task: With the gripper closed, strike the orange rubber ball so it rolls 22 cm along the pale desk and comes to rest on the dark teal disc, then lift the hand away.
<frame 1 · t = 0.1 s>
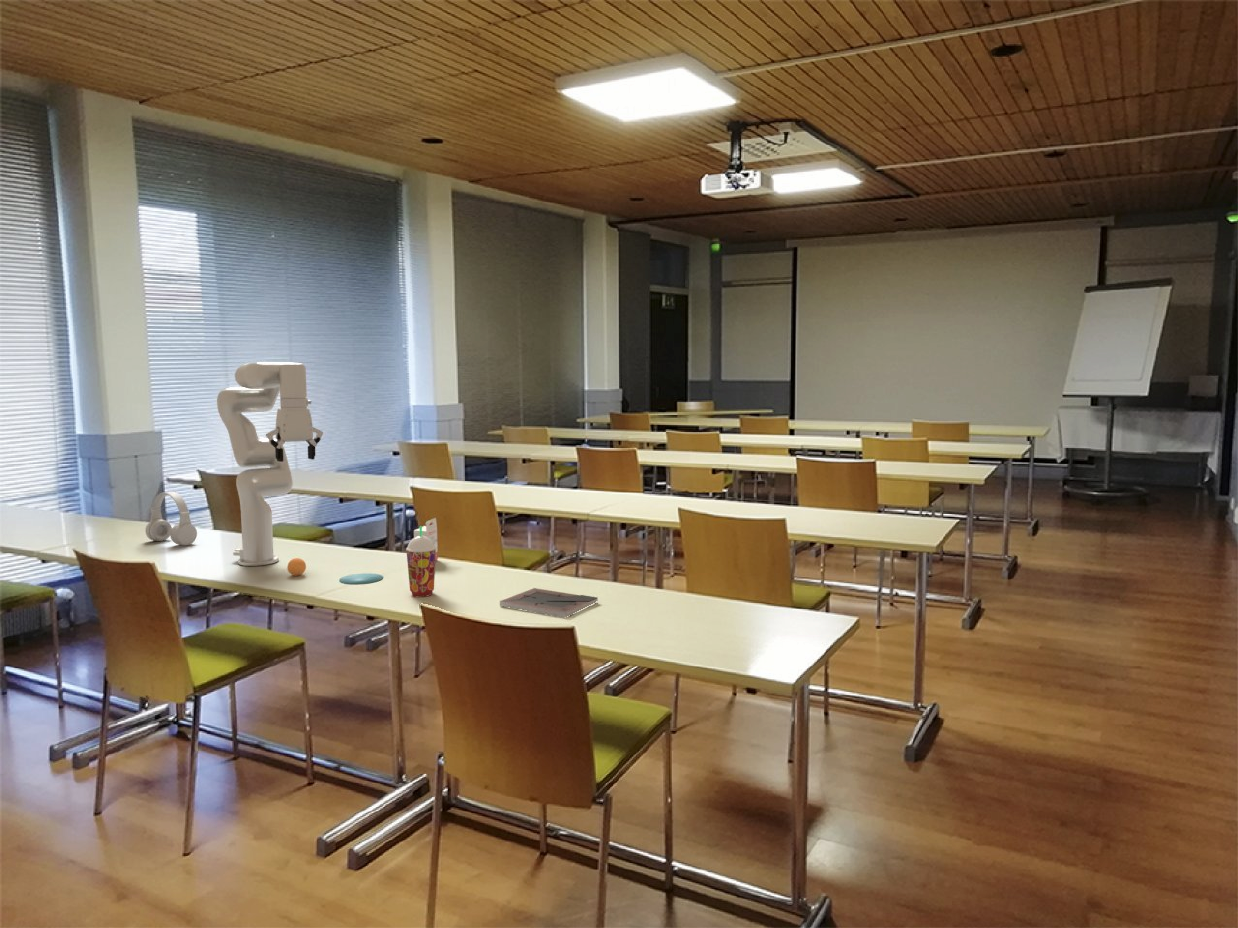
hand: (295, 460, 257), 37 cm above the table, tool pointing down, fingers open, 9 cm apart
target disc: (361, 578, 262), on the table
headphones: (171, 543, 316), on the table
ink cartridge box: (426, 562, 286), on the table
ball: (296, 566, 266), on the table
grey flat slab: (549, 608, 234), on the table
smoothie: (422, 594, 245), on the table
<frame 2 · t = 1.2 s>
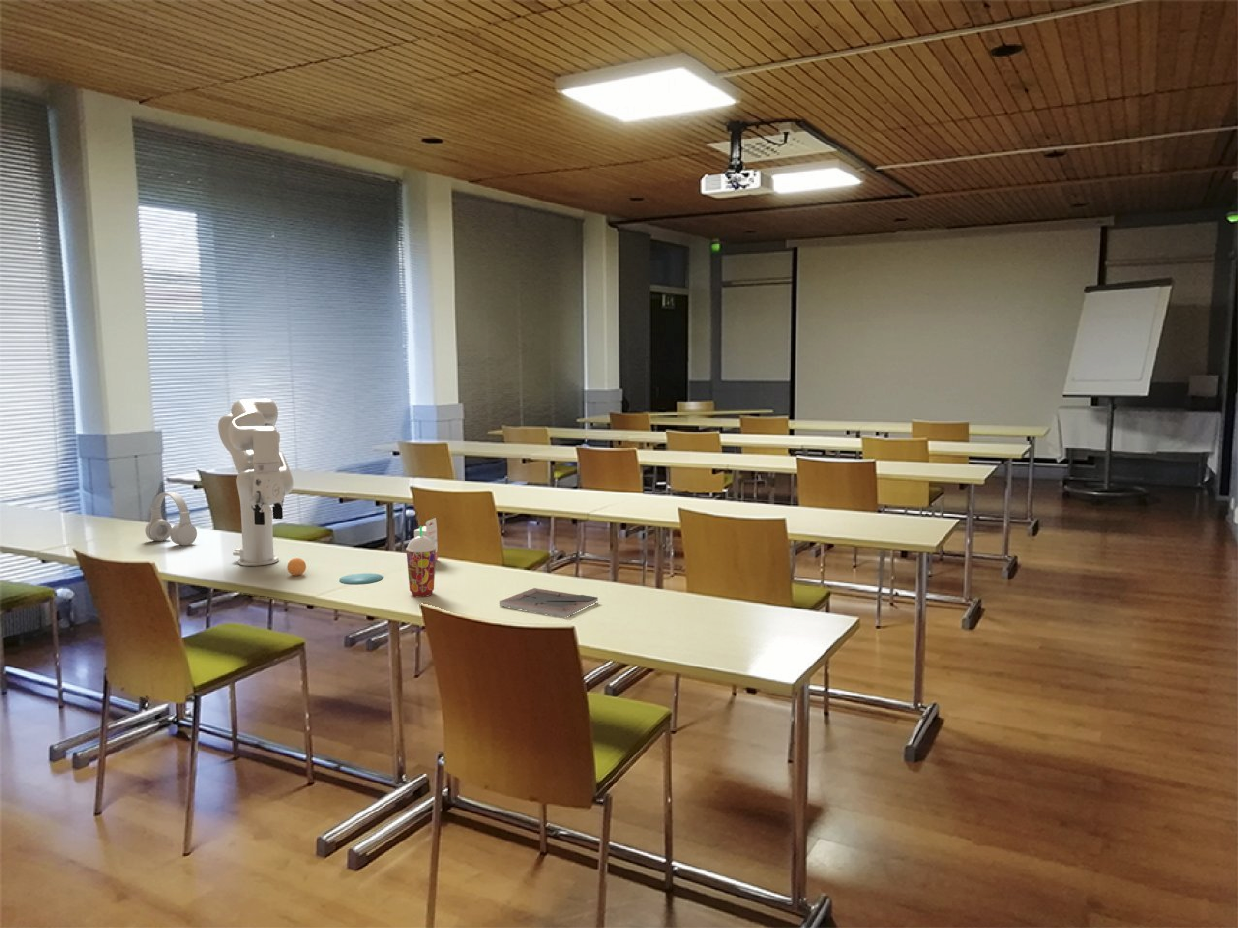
hand: (269, 521, 266), 17 cm above the table, tool pointing down, fingers open, 9 cm apart
nothing on the table moved.
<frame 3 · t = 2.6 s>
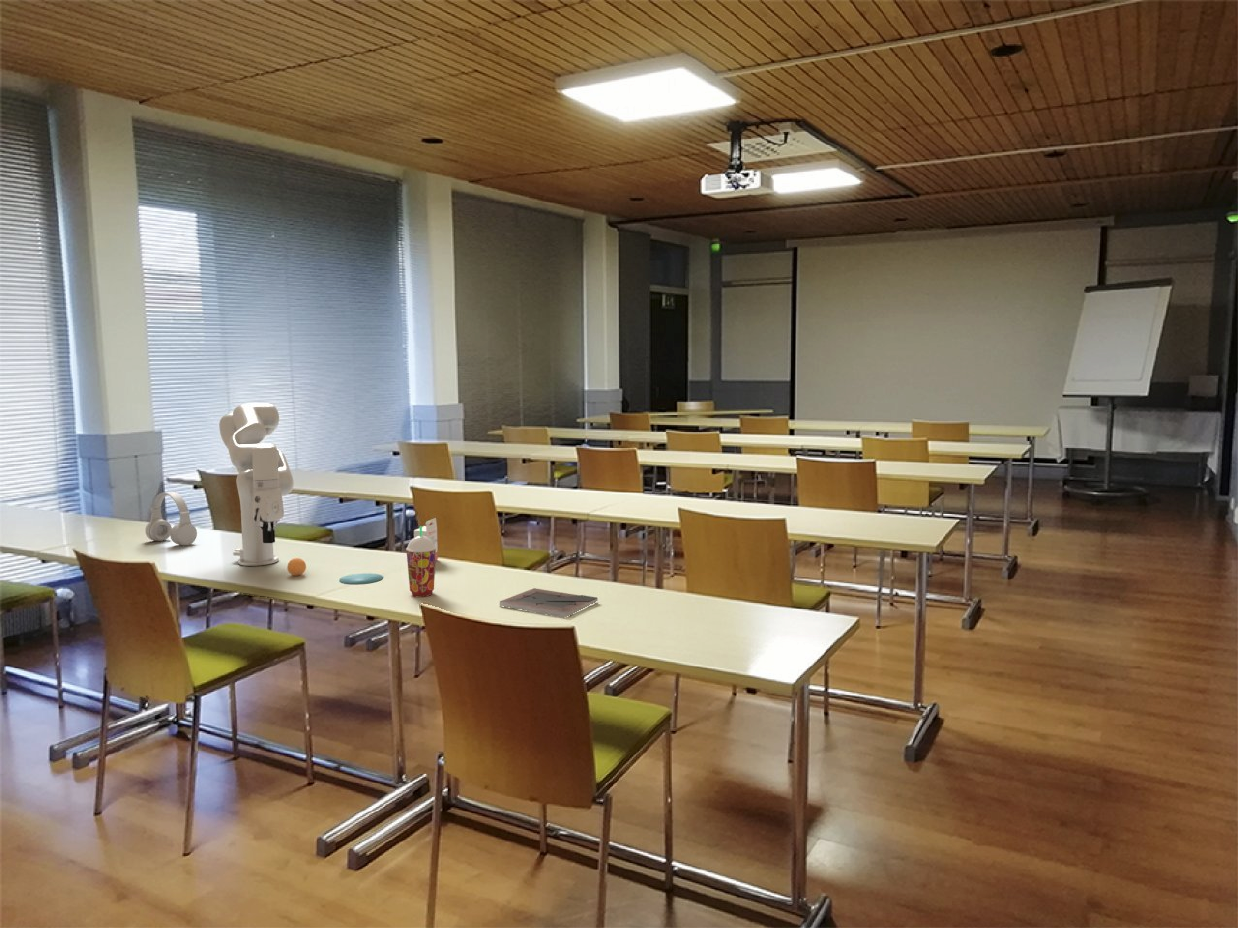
hand: (269, 542, 267), 10 cm above the table, tool pointing down, fingers closed
nothing on the table moved.
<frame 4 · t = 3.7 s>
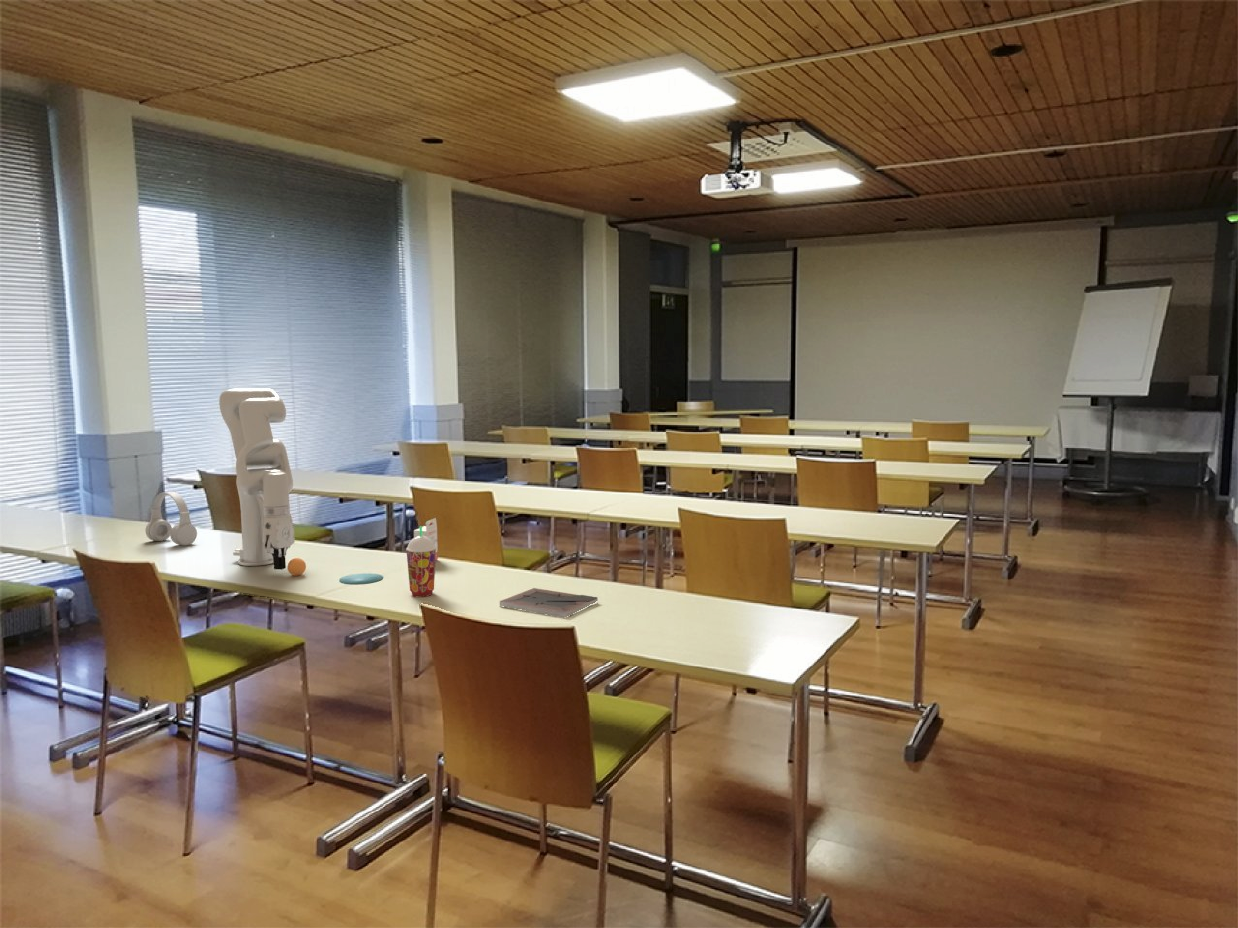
hand: (279, 568, 267), 2 cm above the table, tool pointing down, fingers closed
nothing on the table moved.
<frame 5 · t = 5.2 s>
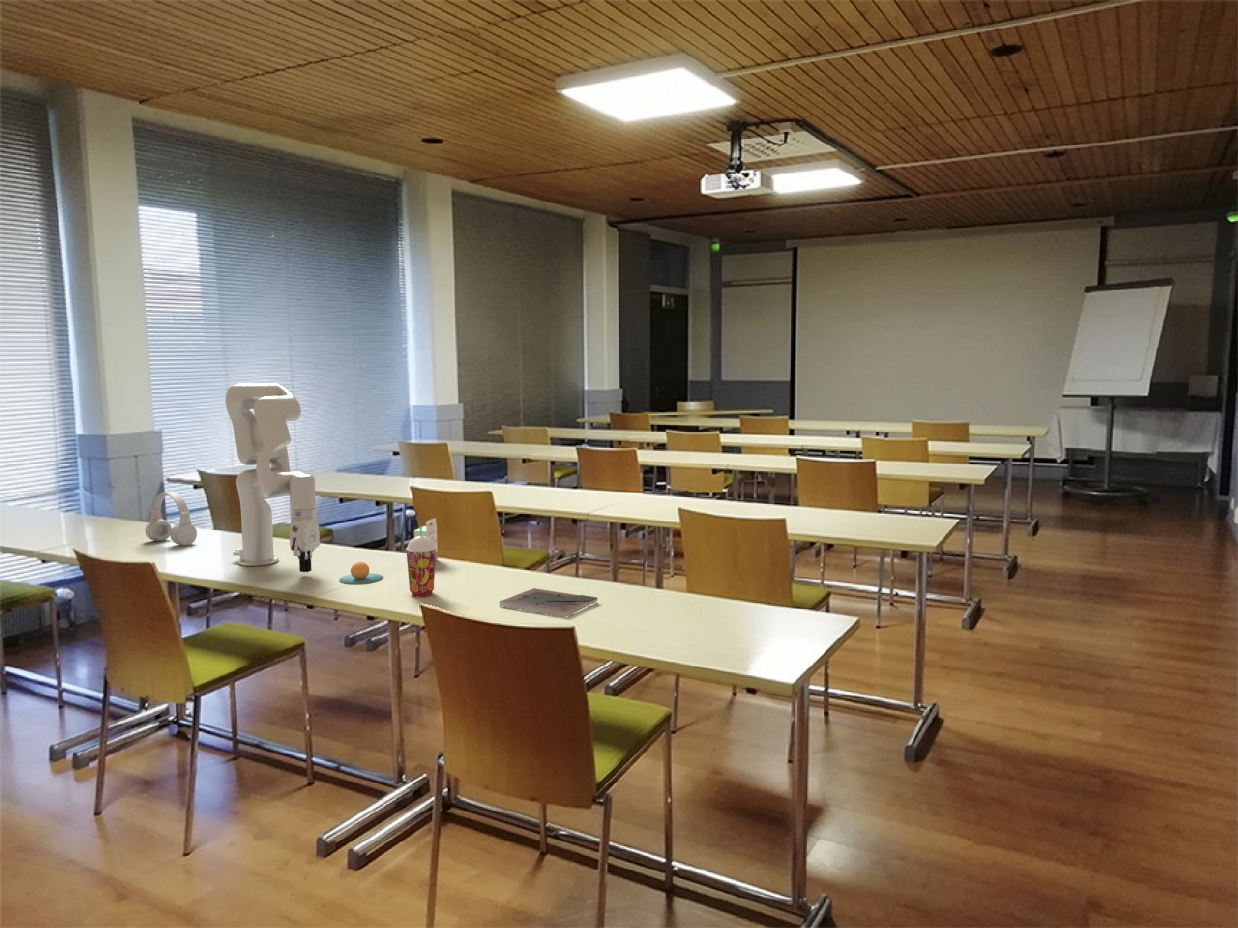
hand: (305, 571, 266), 2 cm above the table, tool pointing down, fingers closed
ball: (360, 570, 262), on the table
everything else where it was.
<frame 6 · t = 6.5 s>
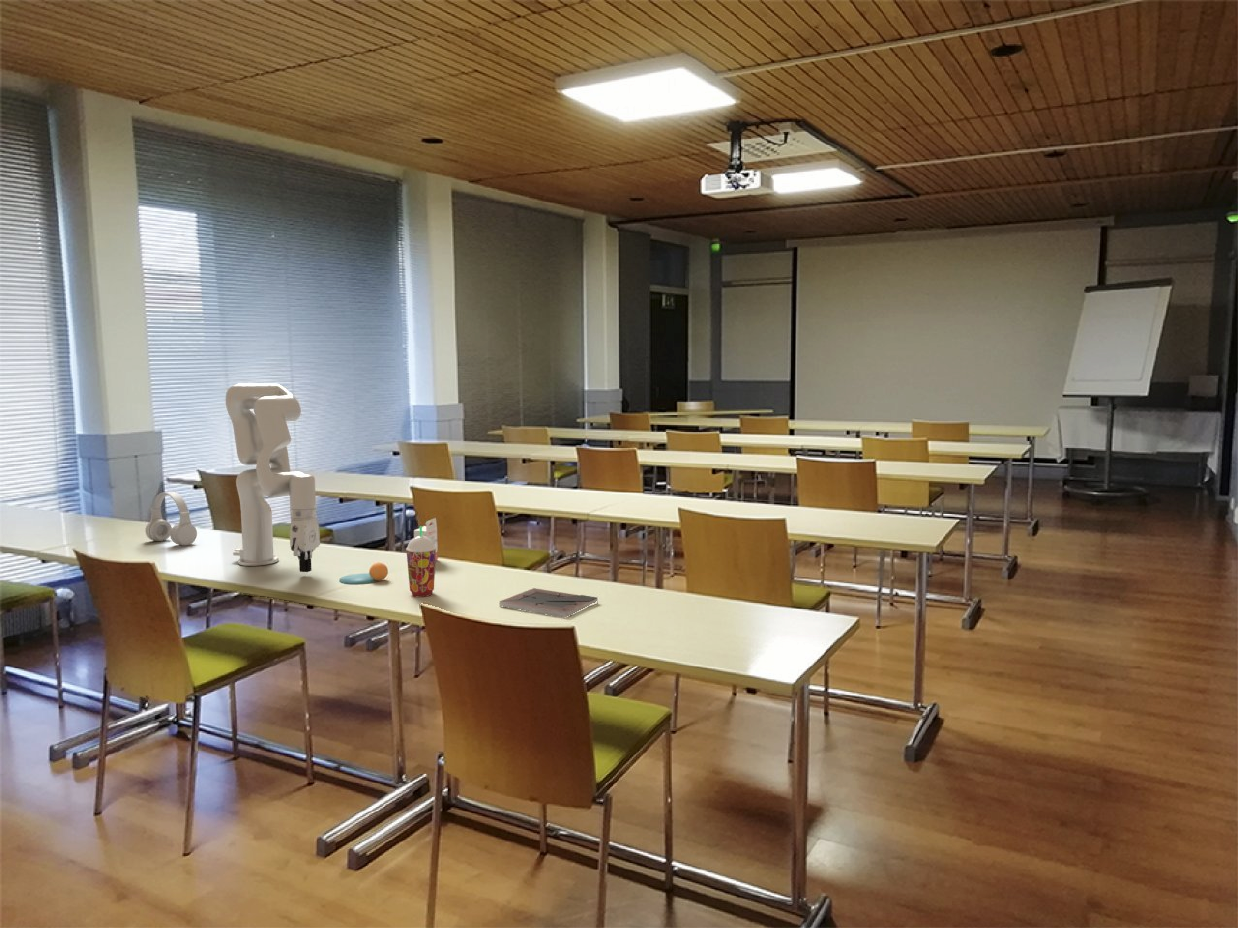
hand: (305, 571, 266), 2 cm above the table, tool pointing down, fingers closed
ball: (378, 571, 260), on the table
everything else where it was.
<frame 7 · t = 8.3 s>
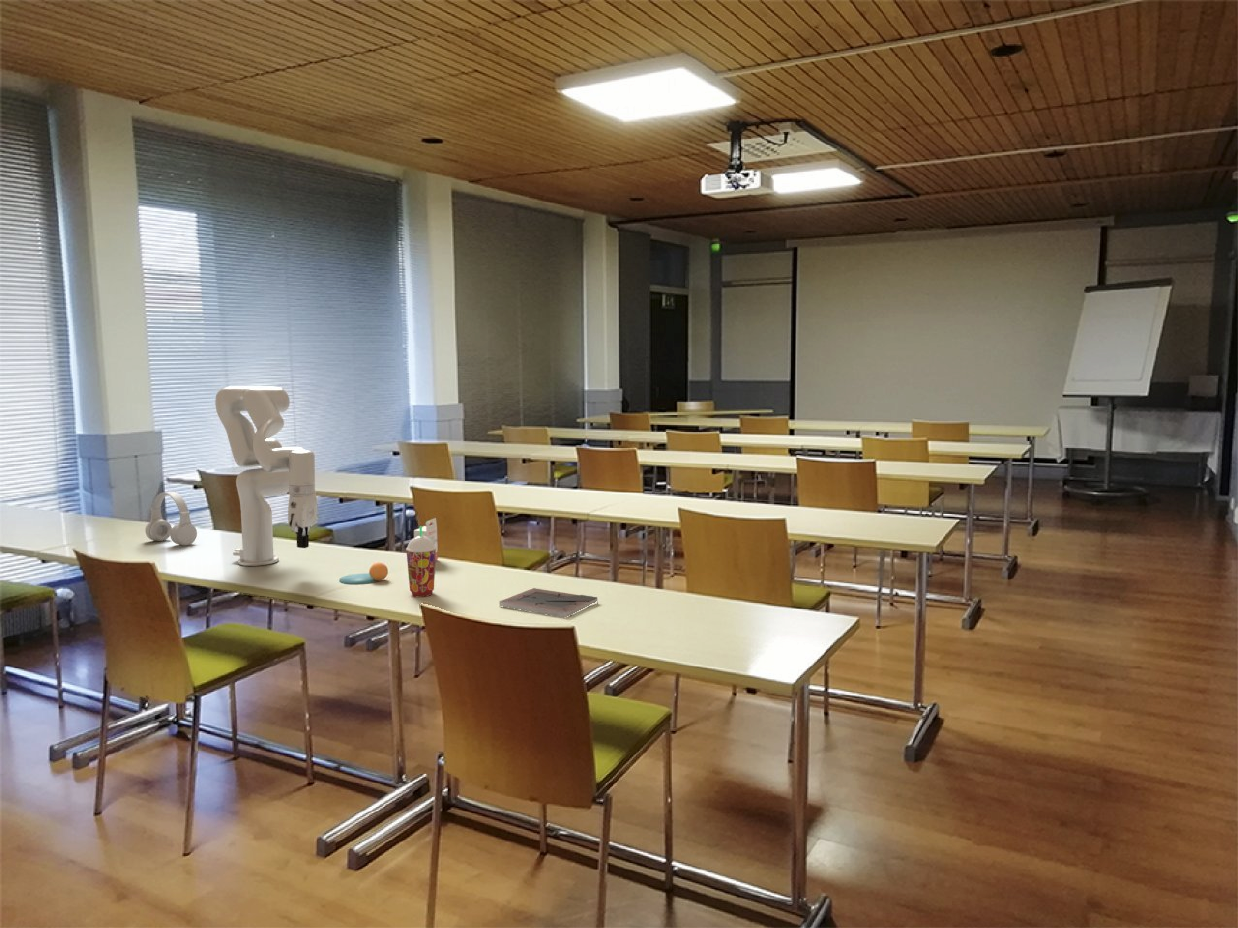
hand: (302, 547, 266), 9 cm above the table, tool pointing down, fingers closed
nothing on the table moved.
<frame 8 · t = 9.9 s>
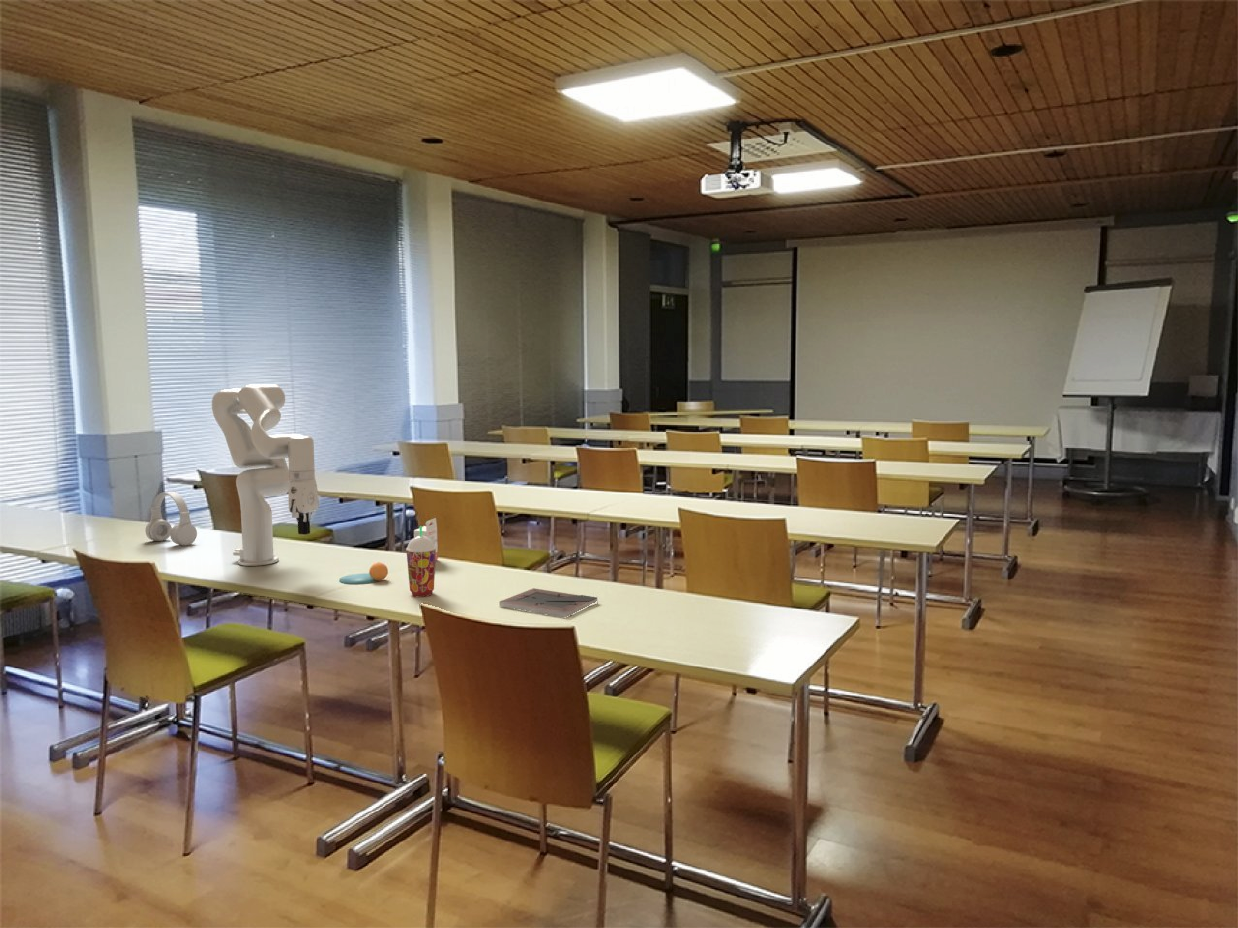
hand: (304, 533, 265), 13 cm above the table, tool pointing down, fingers closed
nothing on the table moved.
at the end: ball 6.1 cm from the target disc (horizontally); ball at rest at the end (0.0 cm/s); ball moved 28.1 cm from its start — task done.
